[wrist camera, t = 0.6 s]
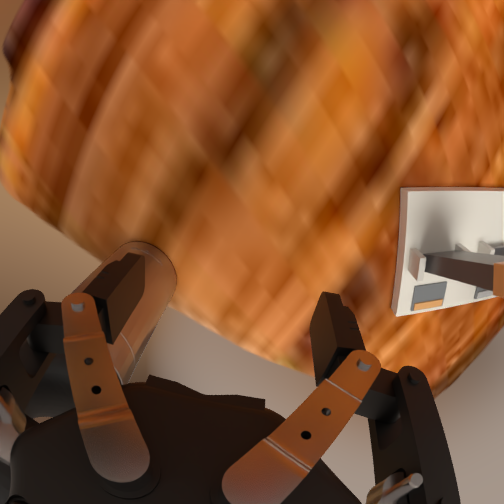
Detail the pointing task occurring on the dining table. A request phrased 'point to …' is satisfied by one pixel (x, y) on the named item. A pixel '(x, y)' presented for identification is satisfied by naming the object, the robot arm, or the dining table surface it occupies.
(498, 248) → the lever grey
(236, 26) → the dining table surface
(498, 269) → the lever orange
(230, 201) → the dining table surface
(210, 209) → the dining table surface
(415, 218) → the switch unit
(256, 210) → the dining table surface
